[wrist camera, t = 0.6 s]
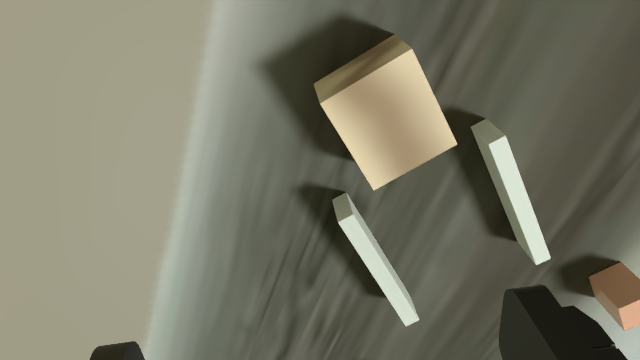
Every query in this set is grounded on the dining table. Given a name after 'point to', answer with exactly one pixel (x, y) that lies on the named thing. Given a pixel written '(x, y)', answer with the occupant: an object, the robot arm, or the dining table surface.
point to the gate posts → (618, 294)
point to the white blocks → (511, 198)
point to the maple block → (385, 111)
